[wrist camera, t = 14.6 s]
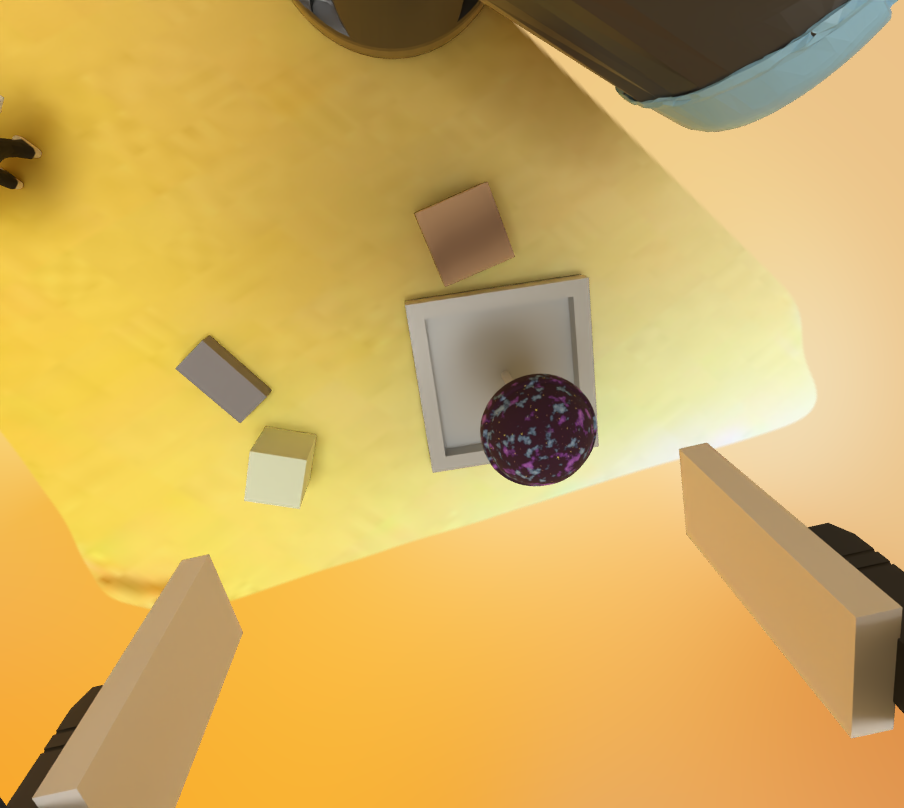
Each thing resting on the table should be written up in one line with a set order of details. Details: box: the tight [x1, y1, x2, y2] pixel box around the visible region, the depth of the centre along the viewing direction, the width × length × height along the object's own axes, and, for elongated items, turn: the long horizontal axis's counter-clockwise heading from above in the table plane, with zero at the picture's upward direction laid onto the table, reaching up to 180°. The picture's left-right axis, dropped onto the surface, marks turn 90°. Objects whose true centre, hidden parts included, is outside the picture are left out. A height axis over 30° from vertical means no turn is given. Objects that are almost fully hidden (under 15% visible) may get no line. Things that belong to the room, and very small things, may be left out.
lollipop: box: [480, 371, 597, 486], centre depth 38 cm, size 7×7×15 cm
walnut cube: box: [414, 182, 515, 287], centre depth 40 cm, size 5×5×5 cm
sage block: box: [244, 426, 317, 509], centre depth 44 cm, size 4×4×5 cm
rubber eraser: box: [175, 336, 271, 423], centre depth 44 cm, size 6×3×2 cm, turn 43°
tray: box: [405, 274, 599, 473], centre depth 45 cm, size 13×13×2 cm
